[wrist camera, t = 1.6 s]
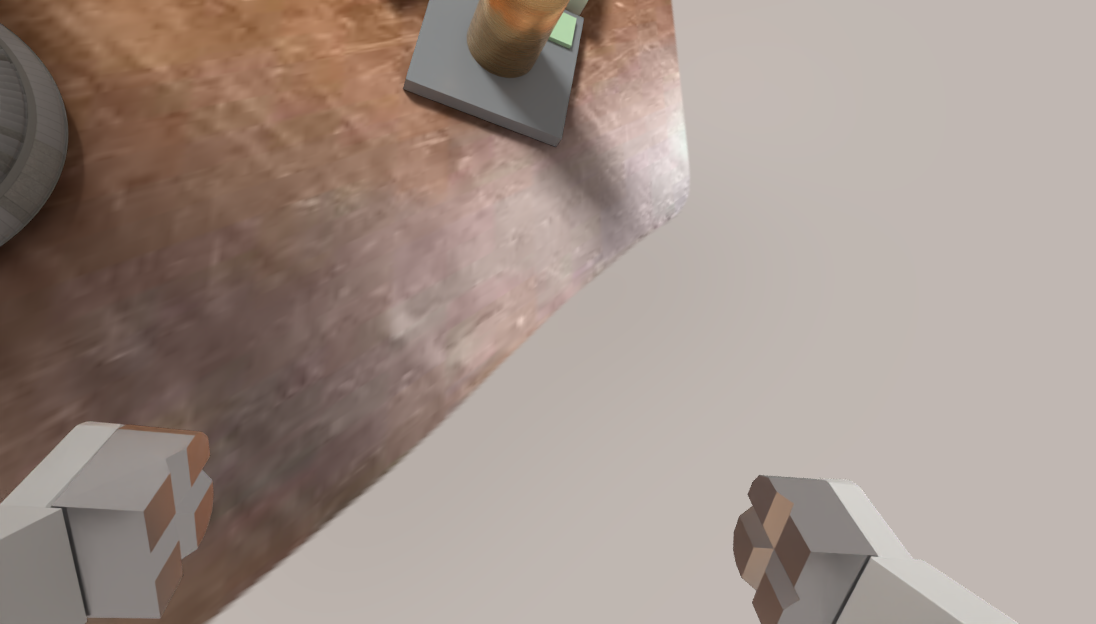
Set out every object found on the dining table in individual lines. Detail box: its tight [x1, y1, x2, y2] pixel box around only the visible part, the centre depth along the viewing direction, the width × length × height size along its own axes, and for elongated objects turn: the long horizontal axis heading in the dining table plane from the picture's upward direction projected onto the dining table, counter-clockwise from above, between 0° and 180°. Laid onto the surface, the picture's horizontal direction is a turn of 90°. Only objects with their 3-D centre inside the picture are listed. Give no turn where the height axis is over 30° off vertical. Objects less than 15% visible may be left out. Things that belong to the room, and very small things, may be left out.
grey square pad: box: [403, 0, 584, 147], centre depth 41 cm, size 10×10×1 cm
